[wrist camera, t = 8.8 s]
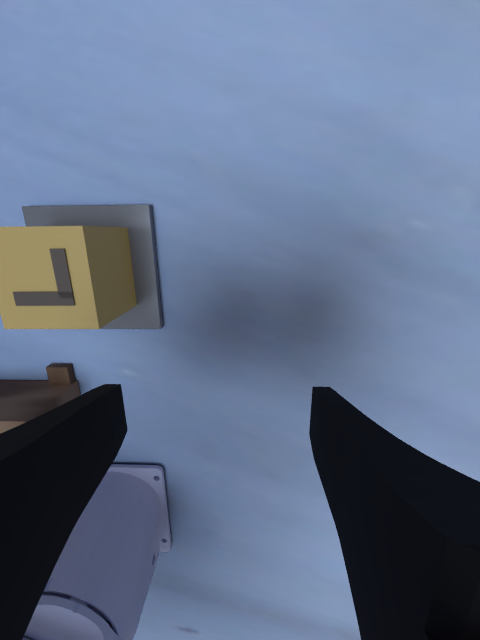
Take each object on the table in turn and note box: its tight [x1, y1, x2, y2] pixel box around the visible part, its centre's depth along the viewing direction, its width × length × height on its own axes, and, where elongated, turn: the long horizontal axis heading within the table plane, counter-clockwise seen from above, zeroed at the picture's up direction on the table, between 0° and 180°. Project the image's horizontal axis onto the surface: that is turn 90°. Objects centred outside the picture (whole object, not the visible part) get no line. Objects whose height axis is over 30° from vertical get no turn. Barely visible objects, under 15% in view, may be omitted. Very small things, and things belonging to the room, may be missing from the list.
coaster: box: [22, 205, 163, 329], centre depth 19 cm, size 8×8×1 cm
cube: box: [0, 226, 137, 329], centre depth 16 cm, size 5×5×5 cm
